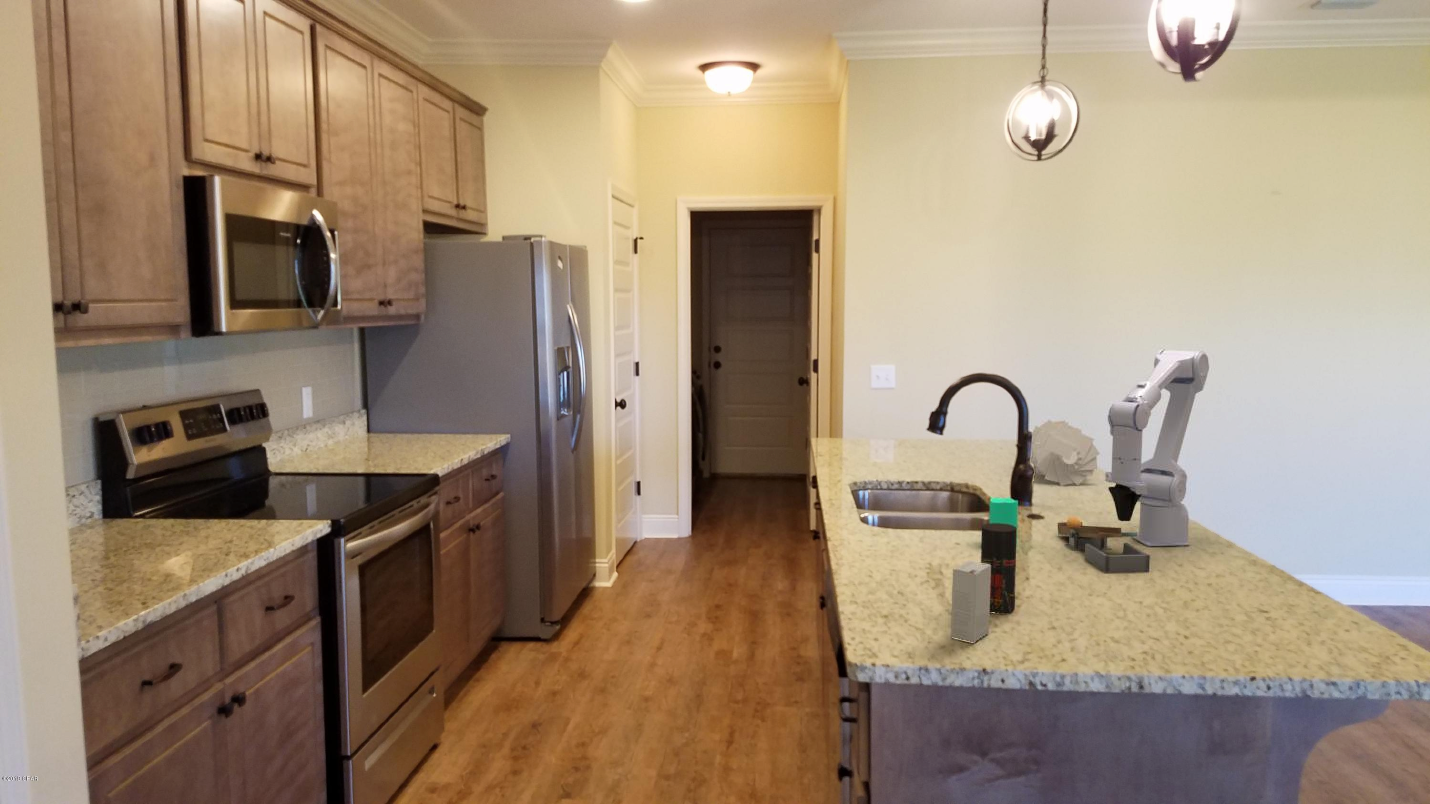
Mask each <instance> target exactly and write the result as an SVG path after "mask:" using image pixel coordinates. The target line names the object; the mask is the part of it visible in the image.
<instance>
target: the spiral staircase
mask: <svg viewBox="0 0 1430 804" xmlns="http://www.w3.org/2000/svg"><path fill="white" fill-rule="evenodd" d="M1032 434H1033V442H1032V457H1031V462H1030V463H1031V464H1032V465H1033V466H1034V468H1033V469H1038V470H1039V471H1038V475H1042V476H1045V477H1044V480H1047V481H1051V482H1054V481H1055V482H1054V483H1059V486H1060V487H1062V486H1066V485H1070V484H1076V485H1077V486H1079V484H1081V483H1082V481H1084V480H1085V479H1086V478H1087V477H1093V475H1094V471H1095V470H1098V462H1097V461H1098V459H1097V456H1099V455H1100V454H1101V453H1100V451H1099V450H1098V448H1097V447H1096V446H1095V444H1094V440H1095V438H1092V437H1090V436H1087V435H1085V434H1084V433H1082V429H1079V428H1078V427H1073V426H1071V425H1069V422H1066V420H1061V421H1059V420H1058V421H1052V420H1051V419H1048V420H1047V421H1046V422H1044V423H1043V424H1041V425H1039V426H1037V425H1035V426H1034V429H1033V431H1032V432H1031V435H1032Z"/></svg>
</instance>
